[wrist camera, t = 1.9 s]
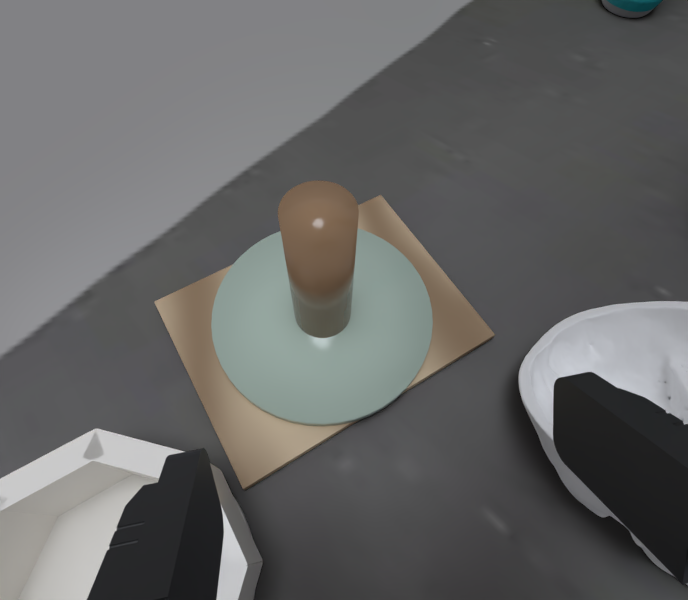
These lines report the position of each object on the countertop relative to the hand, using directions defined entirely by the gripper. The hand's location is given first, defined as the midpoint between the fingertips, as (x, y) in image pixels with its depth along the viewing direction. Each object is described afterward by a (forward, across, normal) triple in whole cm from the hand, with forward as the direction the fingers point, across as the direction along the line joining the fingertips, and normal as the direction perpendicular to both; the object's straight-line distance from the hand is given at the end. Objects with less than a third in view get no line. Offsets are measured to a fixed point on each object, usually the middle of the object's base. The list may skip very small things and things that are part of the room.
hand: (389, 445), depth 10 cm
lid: (+17, 0, +3) cm, 17 cm away
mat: (+17, 0, +3) cm, 17 cm away
